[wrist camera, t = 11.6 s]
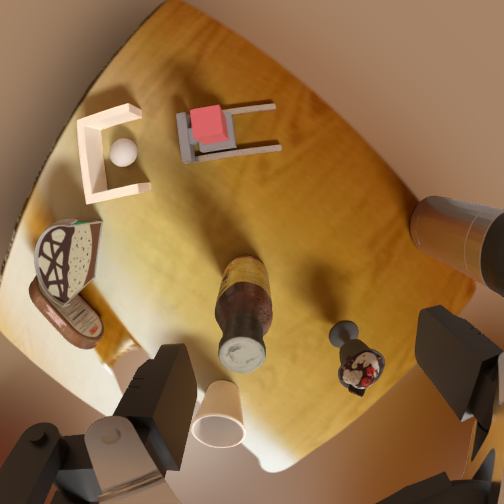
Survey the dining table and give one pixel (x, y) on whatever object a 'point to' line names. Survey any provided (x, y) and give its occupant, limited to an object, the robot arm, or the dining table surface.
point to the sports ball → (123, 152)
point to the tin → (69, 317)
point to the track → (242, 151)
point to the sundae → (355, 359)
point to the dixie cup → (220, 416)
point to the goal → (93, 153)
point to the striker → (205, 131)
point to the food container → (67, 258)
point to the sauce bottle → (243, 314)
